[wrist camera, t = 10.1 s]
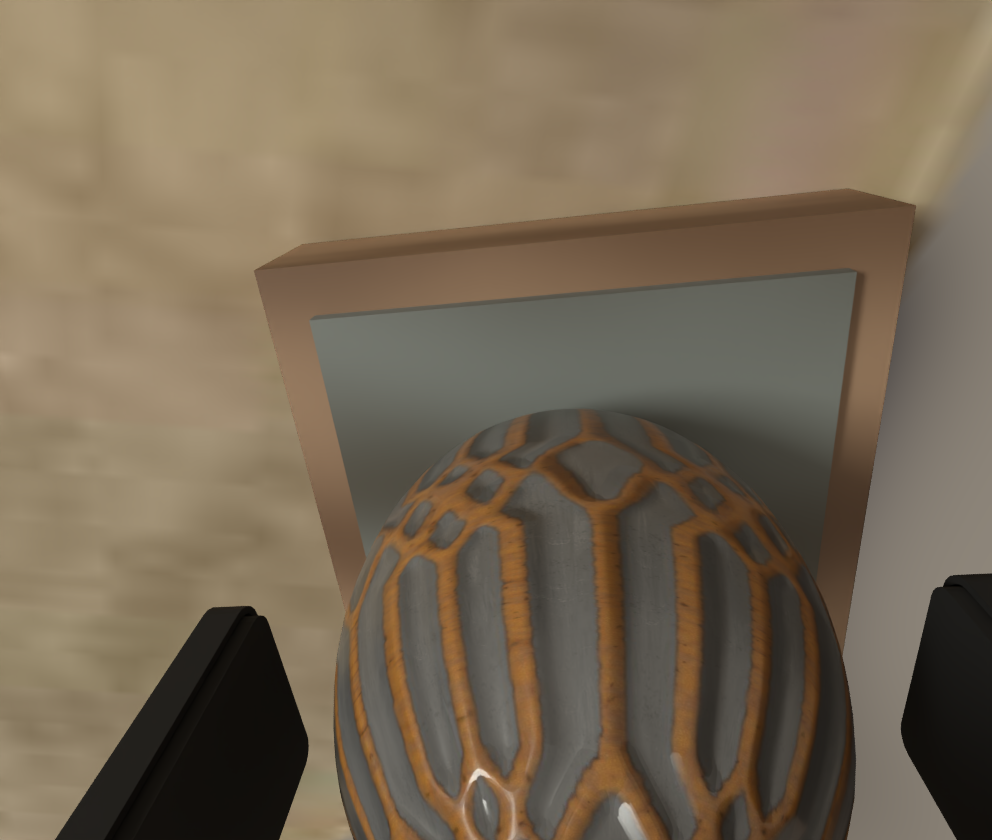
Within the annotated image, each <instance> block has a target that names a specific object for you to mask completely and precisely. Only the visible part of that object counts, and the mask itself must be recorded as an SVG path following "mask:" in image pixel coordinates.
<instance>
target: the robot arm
mask: <svg viewBox="0 0 992 840" xmlns="http://www.w3.org/2000/svg"><path fill="white" fill-rule="evenodd" d="M901 735H902V739H903V743H904V746H905V748H906V751H907V753H908V755H909V757H910V758H911V760H912V762H913V764H914V765H915V767H916V769H917V771H918V772H919V774H920V776H921V778H922V780H923V781H924V783H925V785H926V786H927V788H928V790H929V792H930V794H931V795H932V797H933V799H934V801H935V802H936V804H937V806H938V808H939V809H940V811H941V813H942V814H943V816H944V818H945V820H946V821H947V823H948V825H949V827H950V829H951V830H952V832H953V834H954V836H955V837H956V839H957V840H992V574H971V575H953V576H950V577H948V578H947V579H946V580H945V583H944V585H943V587H937V588H936V589H935V590H933V593H932V595H931V600H930V604H929V608H928V612H927V617H926V621H925V625H924V629H923V633H922V638H921V642H920V647H919V650H918V655H917V659H916V663H915V667H914V671H913V676H912V680H911V684H910V688H909V693H908V697H907V701H906V705H905V709H904V713H903V718H902V722H901ZM308 747H309V745H308V737H307V734H306V731H305V728H304V725H303V722H302V719H301V716H300V713H299V710H298V707H297V705H296V702H295V699H294V696H293V693H292V690H291V687H290V684H289V681H288V678H287V675H286V673H285V670H284V667H283V664H282V661H281V658H280V655H279V652H278V649H277V646H276V643H275V641H274V638H273V635H272V632H271V629H270V626H269V623H268V621H267V619H266V618H265V617H264V616H258V615H257V613H256V611H255V609H254V608H252V607H251V606H236V607H213V608H211V609H209V610H208V611H207V612H206V613H205V614H204V615H203V617H202V618H201V620H200V621H199V623H198V624H197V626H196V627H195V629H194V630H193V632H192V633H191V635H190V636H189V638H188V640H187V641H186V643H185V644H184V646H183V647H182V649H181V650H180V652H179V653H178V655H177V656H176V658H175V659H174V661H173V662H172V664H171V665H170V667H169V668H168V670H167V671H166V673H165V674H164V676H163V677H162V679H161V680H160V682H159V683H158V685H157V686H156V688H155V689H154V691H153V692H152V694H151V695H150V697H149V698H148V700H147V701H146V703H145V705H144V706H143V708H142V709H141V711H140V712H139V714H138V715H137V717H136V718H135V720H134V721H133V723H132V724H131V726H130V727H129V729H128V730H127V732H126V733H125V735H124V736H123V738H122V739H121V741H120V742H119V744H118V745H117V747H116V748H115V750H114V751H113V753H112V754H111V756H110V757H109V759H108V760H107V762H106V763H105V765H104V767H103V768H102V770H101V771H100V773H99V774H98V776H97V777H96V779H95V780H94V782H93V783H92V785H91V786H90V788H89V789H88V791H87V792H86V794H85V795H84V797H83V798H82V800H81V801H80V803H79V804H78V806H77V807H76V809H75V810H74V812H73V813H72V815H71V816H70V818H69V819H68V821H67V822H66V824H65V825H64V827H63V828H62V830H61V832H60V833H59V835H58V836H57V838H56V839H55V840H279V838H280V835H281V833H282V830H283V827H284V824H285V821H286V819H287V816H288V813H289V810H290V807H291V805H292V802H293V799H294V796H295V793H296V790H297V788H298V785H299V782H300V779H301V776H302V774H303V771H304V768H305V765H306V762H307V757H308Z"/></svg>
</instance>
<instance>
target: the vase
mask: <svg viewBox="0 0 992 840" xmlns="http://www.w3.org/2000/svg"><path fill="white" fill-rule="evenodd" d="M334 744H335V758H336V768H337V774H338V781H339V787H340V793H341V798H342V802H343V806H344V810H345V813H346V817H347V820H348V824H349V827H350V831H351V833H352V836H353V839H354V840H847V836H848V831H849V826H850V820H851V814H852V809H853V803H854V793H855V769H856V752H855V738H854V724H853V713H852V706H851V699H850V693H849V686H848V681H847V676H846V671H845V666H844V662H843V657H842V653H841V649H840V645H839V642H838V638H837V635H836V632H835V629H834V626H833V623H832V620H831V617H830V614H829V611H828V608H827V606H826V604H825V601H824V599H823V597H822V595H821V592H820V590H819V588H818V586H817V584H816V582H815V580H814V578H813V576H812V574H811V573H810V571H809V569H808V567H807V565H806V563H805V562H804V560H803V558H802V556H801V555H800V553H799V552H798V550H797V548H796V547H795V545H794V544H793V542H792V541H791V539H790V537H789V536H788V534H787V533H786V531H785V530H784V528H783V527H782V526H781V524H780V523H779V522H778V520H777V519H776V517H775V516H774V515H773V514H772V512H771V511H770V510H769V508H768V507H767V506H766V505H765V503H764V502H763V501H762V500H761V498H760V497H759V496H758V495H757V494H756V493H755V492H754V490H753V489H752V488H751V487H750V486H749V485H748V484H746V483H745V482H744V481H743V480H742V479H741V478H740V477H739V476H738V475H737V474H735V473H734V472H733V471H732V470H731V469H730V468H728V467H727V466H726V465H725V464H724V463H722V462H721V461H720V460H719V459H717V458H716V457H715V456H714V455H712V454H711V453H709V452H708V451H706V450H705V449H703V448H702V447H700V446H699V445H697V444H695V443H693V442H691V441H690V440H688V439H686V438H684V437H683V436H681V435H679V434H677V433H675V432H674V431H671V430H669V429H667V428H665V427H663V426H660V425H658V424H655V423H652V422H650V421H647V420H644V419H640V418H637V417H634V416H630V415H625V414H620V413H615V412H610V411H603V410H595V409H557V410H548V411H542V412H536V413H532V414H528V415H524V416H520V417H517V418H514V419H511V420H507V421H505V422H502V423H499V424H497V425H494V426H492V427H490V428H487V429H485V430H483V431H481V432H479V433H477V434H475V435H474V436H472V437H470V438H468V439H467V440H465V441H464V442H462V443H461V444H459V445H458V446H456V447H455V448H454V449H452V450H451V451H450V452H448V453H447V454H446V455H444V456H443V457H442V458H441V459H439V460H438V461H437V462H436V463H434V464H433V465H432V466H431V467H430V468H429V469H428V470H427V471H426V472H425V473H424V474H423V475H422V476H421V477H420V478H419V479H418V480H417V481H416V482H415V483H414V485H413V486H412V487H411V488H410V489H409V490H408V491H407V493H406V494H405V495H404V496H403V497H402V498H401V499H400V501H399V502H398V504H397V505H396V506H395V508H394V509H393V510H392V512H391V514H390V515H389V517H388V519H387V520H386V522H385V524H384V525H383V527H382V529H381V531H380V532H379V534H378V536H377V538H376V540H375V541H374V543H373V545H372V547H371V550H370V552H369V554H368V556H367V558H366V560H365V563H364V565H363V567H362V569H361V572H360V574H359V576H358V578H357V581H356V584H355V587H354V590H353V593H352V596H351V599H350V602H349V605H348V608H347V611H346V614H345V618H344V622H343V627H342V632H341V637H340V642H339V648H338V654H337V663H336V673H335V685H334Z"/></svg>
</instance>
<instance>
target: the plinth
mask: <svg viewBox="0 0 992 840" xmlns="http://www.w3.org/2000/svg"><path fill="white" fill-rule="evenodd" d="M915 209H916V205H912V204H908V203H904V202H900V201H896V200H892V199H888V198H884V197H880V196H876V195H872V194H868V193H864V192H860V191H856V190H852V189H840V190H830V191H821V192H811V193H801V194H791V195H781V196H772V197H762V198H752V199H742V200H732V201H723V202H713V203H703V204H693V205H683V206H674V207H664V208H654V209H644V210H634V211H624V212H615V213H605V214H595V215H585V216H575V217H566V218H556V219H546V220H536V221H526V222H517V223H507V224H497V225H487V226H477V227H468V228H458V229H448V230H438V231H428V232H419V233H409V234H399V235H389V236H379V237H370V238H360V239H350V240H340V241H330V242H321V243H311V244H302V245H300V246H298V247H296V248H295V249H293V250H291V251H289V252H287V253H285V254H284V255H282V256H280V257H278V258H276V259H274V260H273V261H271V262H269V263H267V264H265V265H263V266H262V267H260V268H258V269H256V270H254V272H255V276H256V280H257V284H258V287H259V291H260V295H261V298H262V302H263V306H264V310H265V313H266V317H267V321H268V325H269V328H270V332H271V336H272V339H273V343H274V347H275V351H276V354H277V358H278V362H279V365H280V369H281V373H282V377H283V380H284V384H285V388H286V391H287V395H288V399H289V403H290V406H291V410H292V414H293V418H294V421H295V425H296V429H297V432H298V436H299V440H300V444H301V447H302V451H303V455H304V458H305V462H306V466H307V470H308V473H309V477H310V481H311V485H312V488H313V492H314V496H315V499H316V503H317V507H318V511H319V514H320V518H321V522H322V525H323V529H324V533H325V537H326V540H327V544H328V548H329V552H330V555H331V559H332V563H333V566H334V570H335V574H336V578H337V581H338V585H339V589H340V592H341V596H342V600H343V604H344V607H345V611H347V608H348V605H349V602H350V599H351V596H352V593H353V590H354V587H355V584H356V581H357V578H358V576H359V574H360V572H361V569H362V567H363V565H364V563H365V560H366V558H367V556H368V554H369V552H370V550H371V547H372V545H373V543H374V541H375V540H376V538H377V536H378V534H379V532H380V531H381V529H382V527H383V525H384V524H385V522H386V520H387V519H388V517H389V515H390V514H391V512H392V510H393V509H394V508H395V506H396V505H397V504H398V502H399V501H400V499H401V498H402V497H403V496H404V495H405V494H406V493H407V491H408V490H409V489H410V488H411V487H412V486H413V485H414V483H415V482H416V481H417V480H418V479H419V478H420V477H421V476H422V475H423V474H424V473H425V472H426V471H427V470H428V469H429V468H430V467H431V466H432V465H433V464H434V463H436V462H437V461H438V460H439V459H441V458H442V457H443V456H444V455H446V454H447V453H448V452H450V451H451V450H452V449H454V448H455V447H456V446H458V445H459V444H461V443H462V442H464V441H465V440H467V439H468V438H470V437H472V436H474V435H475V434H477V433H479V432H481V431H483V430H485V429H487V428H490V427H492V426H494V425H497V424H499V423H502V422H505V421H507V420H511V419H514V418H517V417H520V416H524V415H528V414H532V413H536V412H542V411H548V410H557V409H595V410H603V411H610V412H615V413H620V414H625V415H630V416H634V417H637V418H640V419H644V420H647V421H650V422H652V423H655V424H658V425H660V426H663V427H665V428H667V429H669V430H671V431H674V432H675V433H677V434H679V435H681V436H683V437H684V438H686V439H688V440H690V441H691V442H693V443H695V444H697V445H699V446H700V447H702V448H703V449H705V450H706V451H708V452H709V453H711V454H712V455H714V456H715V457H716V458H717V459H719V460H720V461H721V462H722V463H724V464H725V465H726V466H727V467H728V468H730V469H731V470H732V471H733V472H734V473H735V474H737V475H738V476H739V477H740V478H741V479H742V480H743V481H744V482H745V483H746V484H748V485H749V486H750V487H751V488H752V489H753V490H754V492H755V493H756V494H757V495H758V496H759V497H760V498H761V500H762V501H763V502H764V503H765V505H766V506H767V507H768V508H769V510H770V511H771V512H772V514H773V515H774V516H775V517H776V519H777V520H778V522H779V523H780V524H781V526H782V527H783V528H784V530H785V531H786V533H787V534H788V536H789V537H790V539H791V541H792V542H793V544H794V545H795V547H796V548H797V550H798V552H799V553H800V555H801V556H802V558H803V560H804V562H805V563H806V565H807V567H808V569H809V571H810V573H811V574H812V576H813V578H814V580H815V582H816V584H817V586H818V588H819V590H820V592H821V595H822V597H823V599H824V601H825V604H826V606H827V608H828V611H829V614H830V617H831V620H832V623H833V626H834V629H835V632H836V635H837V638H838V642H839V645H840V649H841V653H842V655H843V648H844V642H845V636H846V630H847V624H848V618H849V612H850V606H851V600H852V593H853V588H854V581H855V575H856V569H857V563H858V557H859V550H860V545H861V538H862V533H863V526H864V520H865V514H866V508H867V502H868V496H869V490H870V483H871V478H872V471H873V465H874V459H875V453H876V447H877V440H878V435H879V428H880V423H881V416H882V410H883V404H884V398H885V392H886V386H887V380H888V373H889V367H890V361H891V355H892V349H893V343H894V337H895V331H896V325H897V319H898V312H899V307H900V300H901V294H902V288H903V282H904V276H905V270H906V264H907V258H908V252H909V245H910V239H911V233H912V227H913V221H914V215H915Z"/></svg>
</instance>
